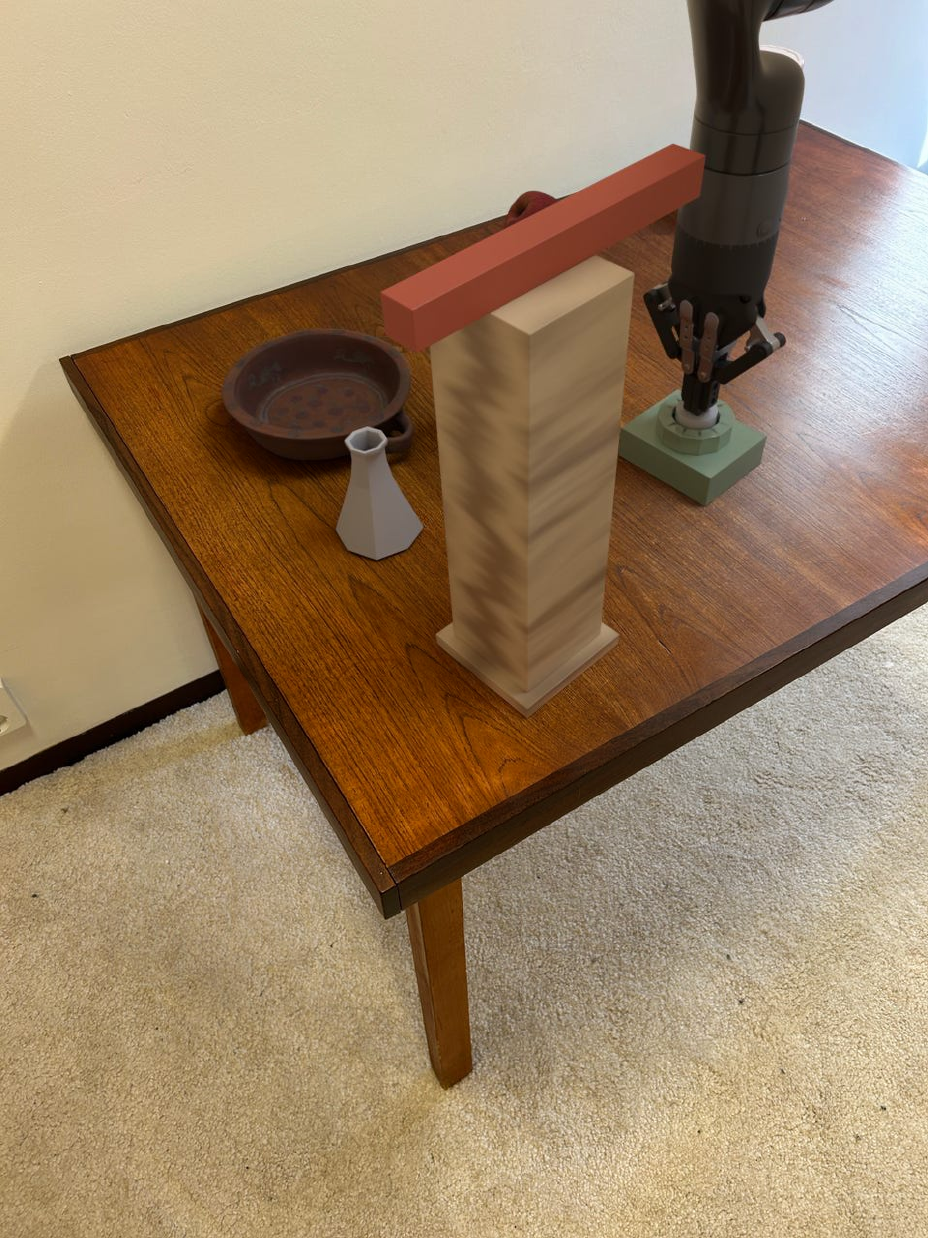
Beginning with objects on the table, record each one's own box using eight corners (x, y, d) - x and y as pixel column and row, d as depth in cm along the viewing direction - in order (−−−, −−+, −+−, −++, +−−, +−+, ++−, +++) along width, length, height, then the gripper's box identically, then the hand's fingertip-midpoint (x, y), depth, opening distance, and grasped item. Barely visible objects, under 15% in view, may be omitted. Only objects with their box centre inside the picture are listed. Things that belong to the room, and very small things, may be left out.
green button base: (760, 463, 87) (771, 418, 84) (705, 506, 84) (713, 461, 80) (673, 416, 92) (680, 372, 89) (618, 455, 89) (622, 410, 85)
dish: (346, 514, 85) (338, 471, 82) (181, 427, 95) (167, 384, 91) (467, 414, 94) (464, 371, 90) (305, 343, 104) (296, 301, 100)
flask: (383, 491, 87) (370, 400, 80) (438, 529, 84) (430, 437, 76) (321, 532, 84) (301, 441, 77) (375, 573, 81) (360, 482, 73)
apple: (504, 245, 115) (503, 178, 109) (570, 244, 115) (572, 177, 109) (504, 278, 110) (503, 210, 104) (572, 276, 110) (575, 208, 104)
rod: (700, 196, 56) (706, 154, 54) (416, 354, 47) (411, 310, 45) (668, 183, 58) (672, 142, 56) (384, 335, 48) (379, 291, 46)
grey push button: (723, 427, 85) (726, 408, 84) (697, 445, 84) (700, 426, 82) (690, 409, 87) (693, 390, 86) (664, 427, 86) (667, 408, 84)
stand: (618, 644, 74) (662, 271, 51) (527, 718, 70) (529, 350, 47) (526, 577, 79) (528, 211, 56) (436, 643, 75) (397, 277, 52)
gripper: (837, 226, 69) (786, 421, 82) (690, 170, 76) (665, 359, 89) (774, 266, 66) (732, 462, 79) (627, 204, 73) (610, 395, 86)
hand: (696, 407), depth 84 cm, fingers closed
